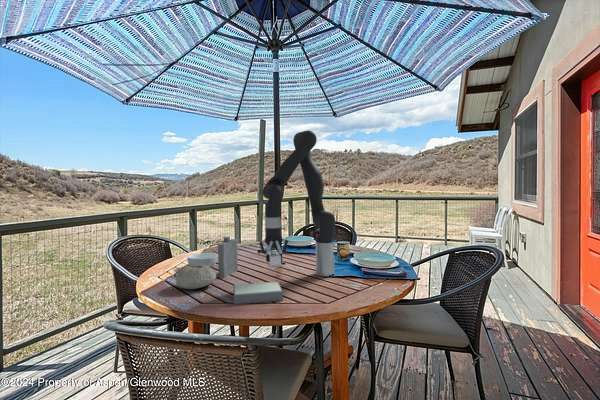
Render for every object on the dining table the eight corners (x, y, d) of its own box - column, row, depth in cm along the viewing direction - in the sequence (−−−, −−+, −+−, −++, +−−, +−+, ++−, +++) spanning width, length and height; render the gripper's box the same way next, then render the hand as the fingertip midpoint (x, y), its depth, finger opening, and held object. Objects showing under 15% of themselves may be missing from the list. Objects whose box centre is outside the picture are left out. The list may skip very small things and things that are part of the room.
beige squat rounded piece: (194, 279, 168) (193, 259, 167) (223, 283, 161) (223, 263, 160) (168, 290, 151) (167, 268, 151) (199, 295, 144) (198, 272, 144)
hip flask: (222, 278, 168) (222, 239, 167) (216, 278, 170) (215, 239, 168) (238, 270, 183) (237, 234, 182) (232, 269, 185) (231, 234, 183)
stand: (278, 290, 150) (278, 281, 150) (283, 300, 138) (282, 290, 137) (233, 293, 146) (233, 284, 146) (233, 304, 134) (233, 294, 133)
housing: (279, 260, 165) (279, 247, 164) (283, 266, 154) (282, 252, 154) (265, 261, 164) (265, 248, 163) (268, 267, 153) (267, 253, 152)
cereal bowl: (224, 266, 193) (224, 254, 192) (201, 273, 179) (201, 260, 178) (204, 262, 202) (204, 251, 201) (181, 268, 188) (181, 256, 187)
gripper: (286, 224, 163) (287, 258, 164) (257, 226, 160) (258, 260, 161) (289, 226, 155) (290, 262, 157) (258, 228, 152) (259, 264, 154)
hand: (274, 261), depth 159 cm, fingers closed on housing, 5 cm apart
